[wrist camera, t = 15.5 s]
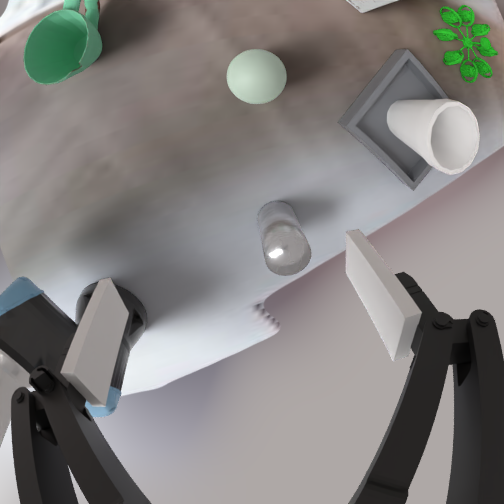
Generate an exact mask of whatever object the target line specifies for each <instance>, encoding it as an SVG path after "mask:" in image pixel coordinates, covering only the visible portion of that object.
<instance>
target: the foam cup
mask: <svg viewBox="0 0 504 504" xmlns="http://www.w3.org/2000/svg"><path fill="white" fill-rule="evenodd" d="M387 124H388V127H389V129H390V131H391V132H392V133H393V134H394V135H395V136H396V137H397V138H399V139H400V140H401V141H403V142H404V143H405V144H406V145H408V146H409V147H410V148H412V149H413V150H414V151H415V152H417V153H418V154H419V155H420V156H421V157H423V158H424V159H425V160H426V162H427V163H428V164H429V165H430V166H432V167H434V168H436V169H437V170H439V171H441V172H444V173H446V174H449V175H452V174H457V173H461V172H463V171H464V170H465V169H466V168H467V167H468V166H469V165H471V164H472V162H473V160H474V158H475V156H476V154H477V152H478V147H479V139H480V133H479V127H478V122H477V119H476V118H475V116H474V114H473V113H472V111H471V109H470V108H469V107H467V106H465V105H464V104H462V103H460V102H459V101H455V100H451V99H435V100H398V101H396V102H395V103H393V104H392V105H391V106H390V108H389V110H388V112H387Z"/></svg>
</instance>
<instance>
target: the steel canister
mask: <svg viewBox="0 0 504 504" xmlns="http://www.w3.org/2000/svg"><path fill="white" fill-rule="evenodd" d="M257 221H258V226H259V231H260V237H261V242H262V247H263V252H264V257H265V262H266V265H267V267H268V268H269V269H270V270H271V271H272V272H274V273H276V274H278V275H284V276H287V275H293V274H296V273H298V272H300V271H302V270H303V269H304V268H305V267H306V266H307V265H308V263H309V261H310V258H311V249H310V246H309V244H308V242H307V239H306V237H305V235H304V233H303V230H302V228H301V226H300V224H299V222H298V219H297V217H296V215H295V213H294V211H293V209H292V207H291V206H290V205H288V204H287V203H285V202H282V201H273V202H270V203H267V204H266V205H264V206H263V207H262V208H261V210H260V211H259V213H258V217H257Z"/></svg>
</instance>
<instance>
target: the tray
mask: <svg viewBox="0 0 504 504" xmlns="http://www.w3.org/2000/svg"><path fill="white" fill-rule="evenodd" d="M435 99H449V98H448V96H447V95H446V94H445V92H444V91H443V90H442V89H441V87H440V86H439V85H438V84H437V82H436V81H435V80H434V79H433V77H432V76H431V75H430V74H429V73H428V71H427V70H426V69H425V68H424V67H423V66H422V64H421V63H420V62H419V61H418V60H417V59H416V58H415V57H414V55H413V54H412V53H411V52H410V51H409V50H408V49H402V50H395V51H394V53H393V54H392V55H391V56H390V58H389V59H388V60H387V61H386V63H385V64H384V65H383V66H382V68H381V69H380V70H379V71H378V72H377V74H376V75H375V76H374V77H373V79H372V80H371V81H370V82H369V84H368V85H367V86H366V87H365V89H364V90H363V91H362V92H361V94H360V95H359V96H358V97H357V99H356V100H355V101H354V103H353V104H352V105H351V106H350V108H349V109H348V110H347V111H346V113H345V114H344V115H343V116H342V118H341V119H340V120H339V121H338V123H339V124H340V125H341V126H342V127H344V128H345V129H346V130H347V131H348V132H349V133H351V134H352V135H353V136H354V137H355V138H356V139H357V140H359V141H360V142H361V143H362V144H363V145H364V146H365V147H366V148H368V149H369V150H370V151H371V152H372V153H373V154H374V155H375V156H376V157H377V158H378V159H379V160H380V161H381V162H382V163H384V164H385V165H386V166H387V167H388V168H389V169H390V170H391V171H392V172H393V173H394V174H395V175H396V176H397V177H398V178H399V179H400V180H401V181H402V182H403V183H404V184H405V185H406V186H408V187H409V188H410V189H412V190H413V191H414V190H415V188H416V187H417V186H418V185H419V183H420V182H421V181H422V180H423V178H424V177H425V176H426V175H427V173H428V172H429V171H430V169H431V168H432V166H430V165H429V164H428V163H427V162H426V160H425V159H424V158H423V157H421V156H420V155H419V154H418V153H417V152H415V151H414V150H413V149H412V148H410V147H409V146H408V145H406V144H405V143H404V142H403V141H401V140H400V139H399V138H397V137H396V136H395V135H394V134H393V133H392V132H391V131H390V129H389V127H388V124H387V112H388V110H389V108H390V106H391V105H392V104H393V103H395V102H396V101H398V100H435Z"/></svg>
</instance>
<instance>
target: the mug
mask: <svg viewBox="0 0 504 504" xmlns="http://www.w3.org/2000/svg"><path fill="white" fill-rule="evenodd" d="M80 2H81V0H65V1H64V6H63V9H62V10H58V11H55V12H52V13H51V14H49V15H48V16H46V17H44V18H43V19H42V20H41V21H40V22H39V23H38V24H37V25H36V26H35V27H34V29H33V31H32V32H31V34H30V35H29V37H28V40H27V43H26V45H25V48H24V59H23V60H24V66H25V70H26V72H27V74H28V75H29V77H30V78H31V79H32V80H34V81H35V82H36V83H39V84H43V85H50V84H55V83H60V82H62V81H64V80H66V79H68V78H70V77H72V76H73V75H76V74H78V73H80V72H82V71H83V70H85V69H86V68H88V67H89V66H90V65H91V64H92V63H93V62H94V61H95V60H96V59H97V58H98V57H99V56H100V54H101V51H102V41H101V36H100V34H99V32H98V31H97V30H98V21H99V13H100V2H99V0H84V3H85V8H86V9H85V16H84V15H82V14H81V13H79V12H78V11H79V6H80Z"/></svg>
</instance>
